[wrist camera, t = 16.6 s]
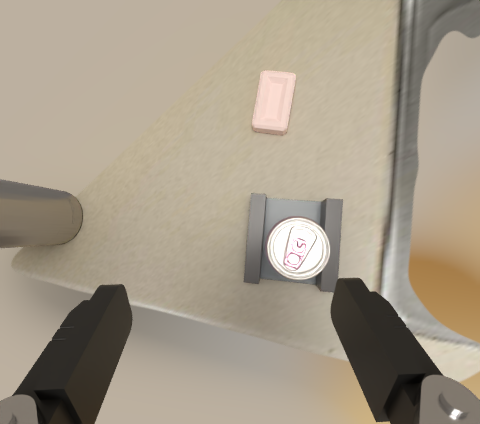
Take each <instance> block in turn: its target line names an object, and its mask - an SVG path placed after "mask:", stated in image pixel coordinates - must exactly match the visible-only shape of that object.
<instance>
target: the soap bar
mask: <svg viewBox="0 0 480 424" xmlns="http://www.w3.org/2000/svg"><path fill="white" fill-rule="evenodd" d="M295 81H296V75H295V74H294V73H289V72H278V71H267V70H264V71H263V72H261V76H260V81H259V87H258V92H257V98H256V103H255V109H254V114H253V120H252V128H253V130H254V131H255V132H261V133H269V134H277V135H284V134H286V133H287V127H288V121H289V116H290V110H291V104H292V98H293V93H294V87H295Z"/></svg>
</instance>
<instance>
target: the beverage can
mask: <svg viewBox="0 0 480 424" xmlns="http://www.w3.org/2000/svg"><path fill="white" fill-rule="evenodd" d="M265 252H266V256H267V259H268V261H269V263H270V265H271V266H272V268H273V269H274V270H275V271H276V272H277V273H279V274H280V275H282V276H283V277H286V278H288V279H292V280H306V279H309V278H312V277H314V276H316V275H317V274H319V273H320V272H321V271H322V270H323V269H324V268H325V266H326V264H327V262H328V260H329V257H330V243H329V239H328V236H327V234H326V232H325V231H324V229H323V228H322V227H321V226H320V225H319V224H318V223H316V222H315V221H313V220H312V219H309V218H306V217H302V216H291V217H287V218H284V219H282V220H280V221H279V222H277V223H276V224H275V225H274V226H273V227H272V228H271V230H270V231H269V233H268V235H267V238H266V243H265Z"/></svg>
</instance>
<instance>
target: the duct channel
mask: <svg viewBox="0 0 480 424" xmlns="http://www.w3.org/2000/svg"><path fill="white" fill-rule="evenodd" d="M342 205H343V199H328V198H327V199H325V200H323V201H322V202H317V201H303V200H289V199H274V198H267V197H266V194H254V193H251V202H250V214H249V225H248V237H247V249H246V261H245V273H244V282H246V283H255V284H259V281H260V278H262V279H271V280H280V281H289V282H297V283H306V284H315V285H316V286H317V287H318V288H319V289H320V291H324V292H333V293H334V291H335V286H336V282H337V280H338V269H339V253H340V237H341V221H342ZM291 216H302V217H306V218H309V219H312V220H313V221H315V222H316V223H318V224H319V225H320V226H321V227H322V228H323V229H324V231H325V232H326V234H327V236H328V239H329V243H330V257H329V260H328V262H327V264H326V266H325V268H324V269H323V270H322V271H321V272H320V273H319V274H317V275H316V276H314V277H312V278H309V279H306V280H292V279H288V278H286V277H283V276H282V275H280V274H279V273H277V272H276V271H275V270H274V269H273V268H272V266H271V265H270V263H269V261H268V259H267V256H266V252H265V243H266V238H267V235H268V233H269V231H270V230H271V228H272V227H273V226H274V225H275V224H276V223H277V222H279V221H280V220H282V219H284V218H287V217H291Z"/></svg>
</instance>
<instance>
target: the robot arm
mask: <svg viewBox="0 0 480 424" xmlns="http://www.w3.org/2000/svg"><path fill="white" fill-rule="evenodd" d="M81 223H82V209H81V206H80V204H79V202H78V200H77V199H76V198H75V197H74V196H73V195H71V194H70V193H67V192H64V191H59V190H53V189H49V188H43V187H39V186H34V185H28V184H23V183H17V182H12V181H6V180H1V179H0V248H11V247H27V246H43V245H58V244H63V243H66V242H68V241H70V240H71V239H72V238H73V237H74V236H75V235H76V234H77V233H78V231H79V229H80V226H81ZM331 318H332V322H333V325H334V327H335V329H336V332H337V334H338V336H339V339H340V341H341V343H342V345H343V348H344V350H345V352H346V355H347V357H348V359H349V361H350V363H351V366H352V368H353V370H354V373H355V375H356V377H357V379H358V382H359V384H360V386H361V389H362V391H363V393H364V395H365V398H366V400H367V402H368V405H369V407H370V409H371V411H372V413H373V416H374V418H375V420H376V422H386V421H390V423H391V424H480V400H479V399H478V398H477V397H476V396H475V395H474V394H473V393H472V392H471V391H470V390H469V389H467V388H466V387H465V386H463V385H462V384H460V383H459V382H457V381H455V380H453V379H451V378H448V377H445V376H443V374H442V373H441V372H440V371H439V369H438V368H437V367H436V365H435V364H434V363H433V361H432V360H431V359H430V357H429V356H428V354H427V353H426V352H425V350H424V349H423V348H422V346H421V345H420V344H419V342H418V341H417V340H416V338H415V337H414V335H413V334H412V333H411V331H410V330H409V329H408V328H406V325H405V323H404V322H403V321H402V319H401V318H400V317H398V314H397V312H396V311H395V310H394V308H393V307H392V306H391V304H390V303H389V302H388V301H387V300H386V299H384V298H383V297H382V296H381V295H379V294H378V293H377V292H370V291H369V290H368V288H367V287H366V285H365V284H364V282H363V281H362V280H361V279H360V278H339V279H338V280H337V282H336V286H335V291H334V295H333V300H332V304H331ZM131 326H132V312H131V308H130V304H129V300H128V297H127V293H126V289H125V287H124V285H122V284H119V285H100V286H99V287H98V288H97V290H96V291H95V293H94V295H93V296H92V298H91V299H90V300H84V301H82V302H81V303H80V304H79V305H78V306H77V307H75V308H74V309H73V310H72V311H71V312H70V313H69V314H68V316H67V317H66V319H65V320H64V321H63V323H62V324H61V326H60V329H58V330H57V332H56V333H55V335H54V336H53V338H52V341H50V342H49V343H48V345H47V346H46V348H45V349H44V351H43V352H42V354H41V355H40V357H39V358H38V360H37V361H36V362H35V364H34V365H33V367H32V368H31V370H30V371H29V373H28V374H27V376H26V377H25V379H24V380H23V381H22V383H21V384H20V386H19V387H18V389H17V390H16V391H15V393H14V394H13V395H12V396H11V397H8V398H6V399H4V400H1V401H0V424H94V423H95V421H96V418H97V416H98V413H99V410H100V408H101V405H102V403H103V400H104V398H105V395H106V393H107V390H108V387H109V385H110V382H111V379H112V377H113V374H114V372H115V369H116V367H117V364H118V362H119V359H120V356H121V354H122V351H123V349H124V346H125V344H126V341H127V338H128V336H129V333H130V330H131Z"/></svg>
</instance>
